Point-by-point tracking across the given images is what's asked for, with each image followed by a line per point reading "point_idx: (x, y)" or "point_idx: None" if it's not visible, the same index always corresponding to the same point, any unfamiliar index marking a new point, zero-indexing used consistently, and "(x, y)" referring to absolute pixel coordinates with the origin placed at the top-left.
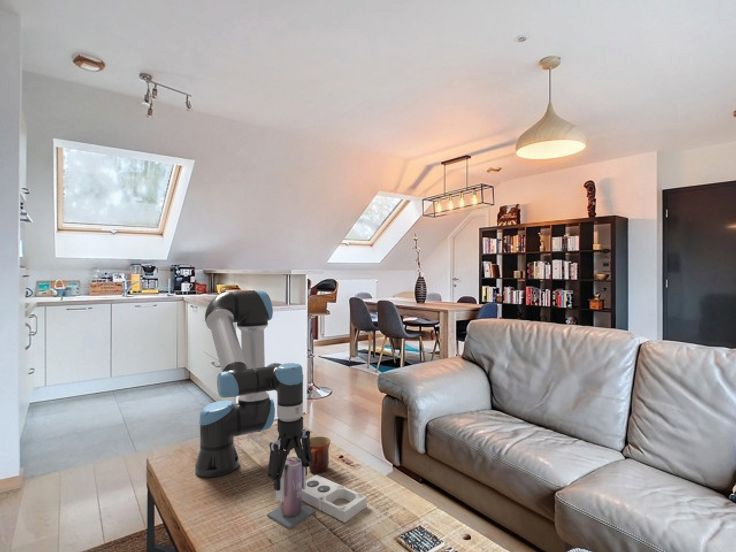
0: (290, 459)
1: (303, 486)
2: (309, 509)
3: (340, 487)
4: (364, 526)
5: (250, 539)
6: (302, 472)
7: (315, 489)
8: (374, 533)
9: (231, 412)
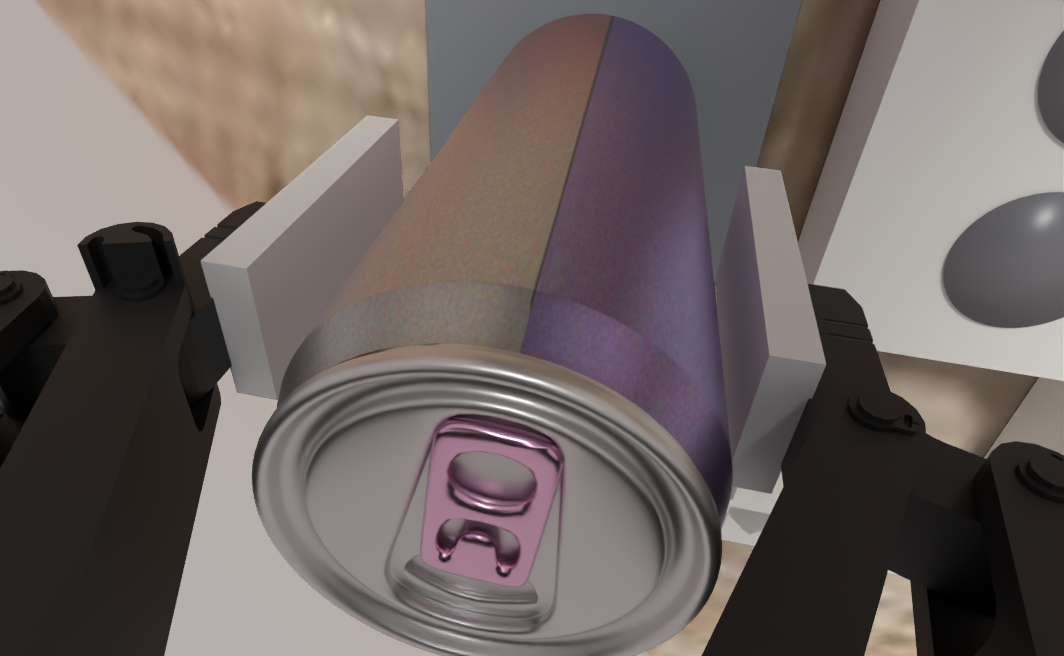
0: (532, 470)
1: (717, 289)
2: (715, 233)
3: None
4: (735, 566)
5: (164, 59)
6: (727, 400)
7: (991, 186)
8: (703, 610)
9: None
